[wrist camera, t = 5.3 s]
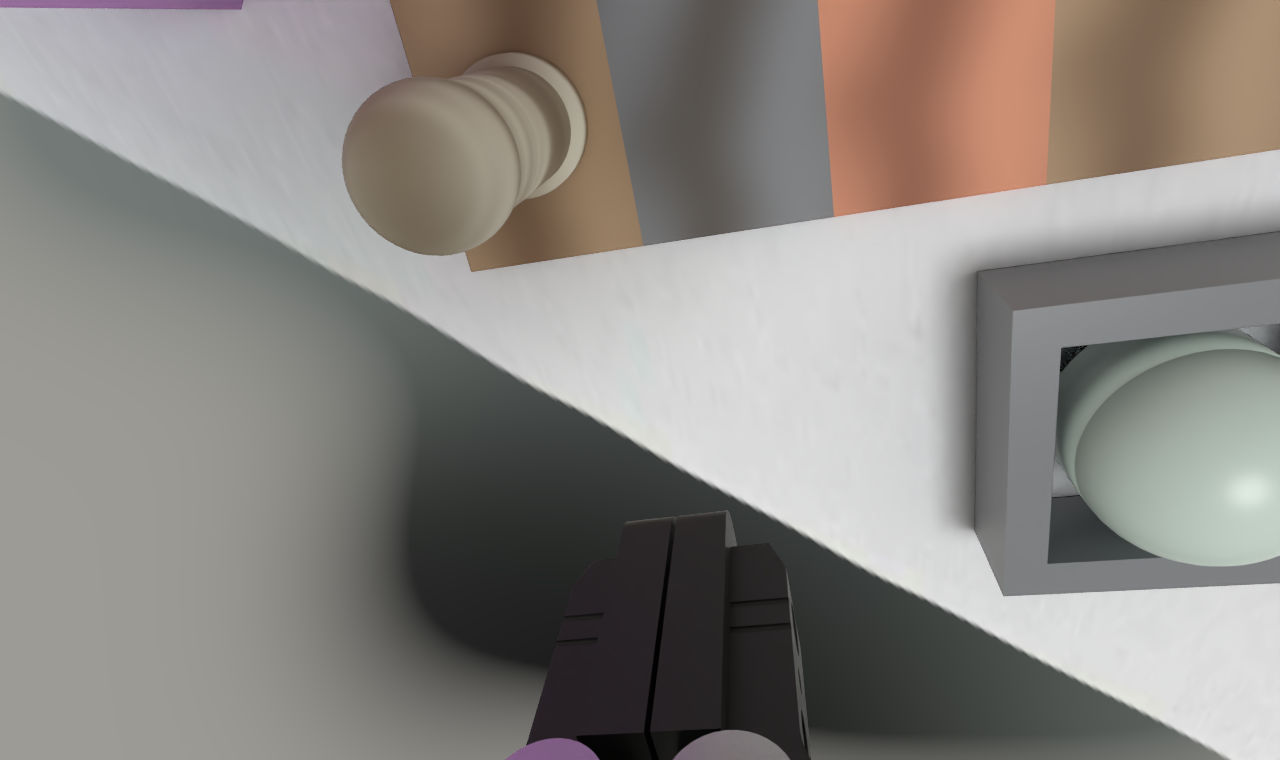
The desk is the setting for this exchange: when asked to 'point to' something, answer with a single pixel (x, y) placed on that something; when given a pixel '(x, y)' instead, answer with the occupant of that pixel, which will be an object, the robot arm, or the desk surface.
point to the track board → (854, 103)
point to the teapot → (125, 4)
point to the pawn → (462, 150)
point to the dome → (1177, 443)
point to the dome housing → (1028, 398)
